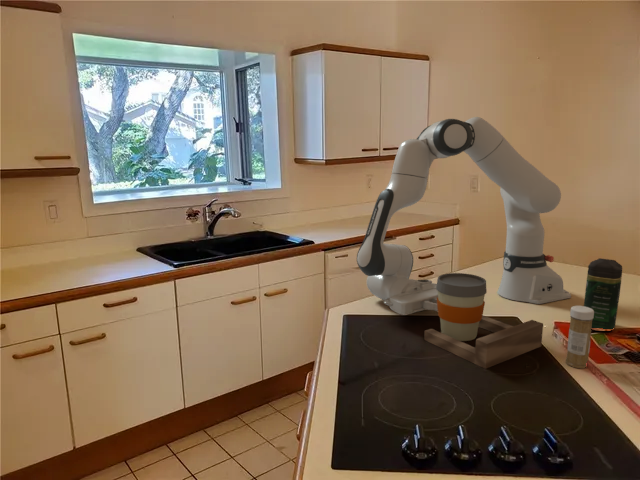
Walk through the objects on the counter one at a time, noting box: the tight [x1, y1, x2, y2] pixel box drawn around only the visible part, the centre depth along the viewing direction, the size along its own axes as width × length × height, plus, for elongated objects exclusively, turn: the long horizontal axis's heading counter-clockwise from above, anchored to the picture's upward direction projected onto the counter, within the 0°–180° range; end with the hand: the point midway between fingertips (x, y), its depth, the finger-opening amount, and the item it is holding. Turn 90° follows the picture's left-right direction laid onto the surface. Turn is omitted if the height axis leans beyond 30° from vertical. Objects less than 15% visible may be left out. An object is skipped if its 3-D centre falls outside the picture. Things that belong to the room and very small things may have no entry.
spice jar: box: [565, 305, 594, 369], centre depth 106 cm, size 5×5×14 cm
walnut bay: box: [423, 315, 544, 370], centre depth 119 cm, size 19×21×6 cm
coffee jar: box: [583, 257, 623, 329], centre depth 127 cm, size 10×8×19 cm
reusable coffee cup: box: [436, 272, 488, 342], centre depth 123 cm, size 13×13×15 cm
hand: (442, 307), depth 129 cm, fingers closed, pressing on reusable coffee cup
